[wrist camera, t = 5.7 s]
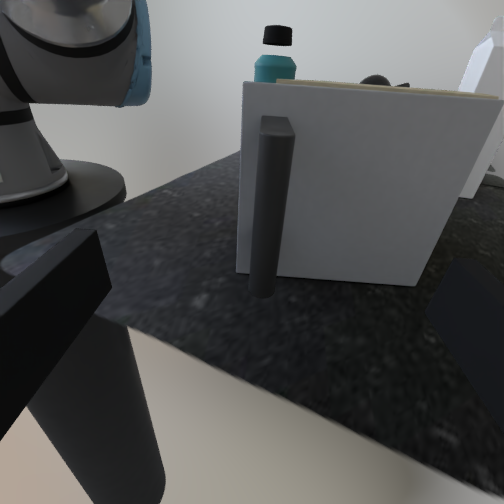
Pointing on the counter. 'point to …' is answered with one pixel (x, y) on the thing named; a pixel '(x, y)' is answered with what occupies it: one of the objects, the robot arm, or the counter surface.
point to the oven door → (350, 180)
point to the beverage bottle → (275, 57)
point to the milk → (487, 82)
